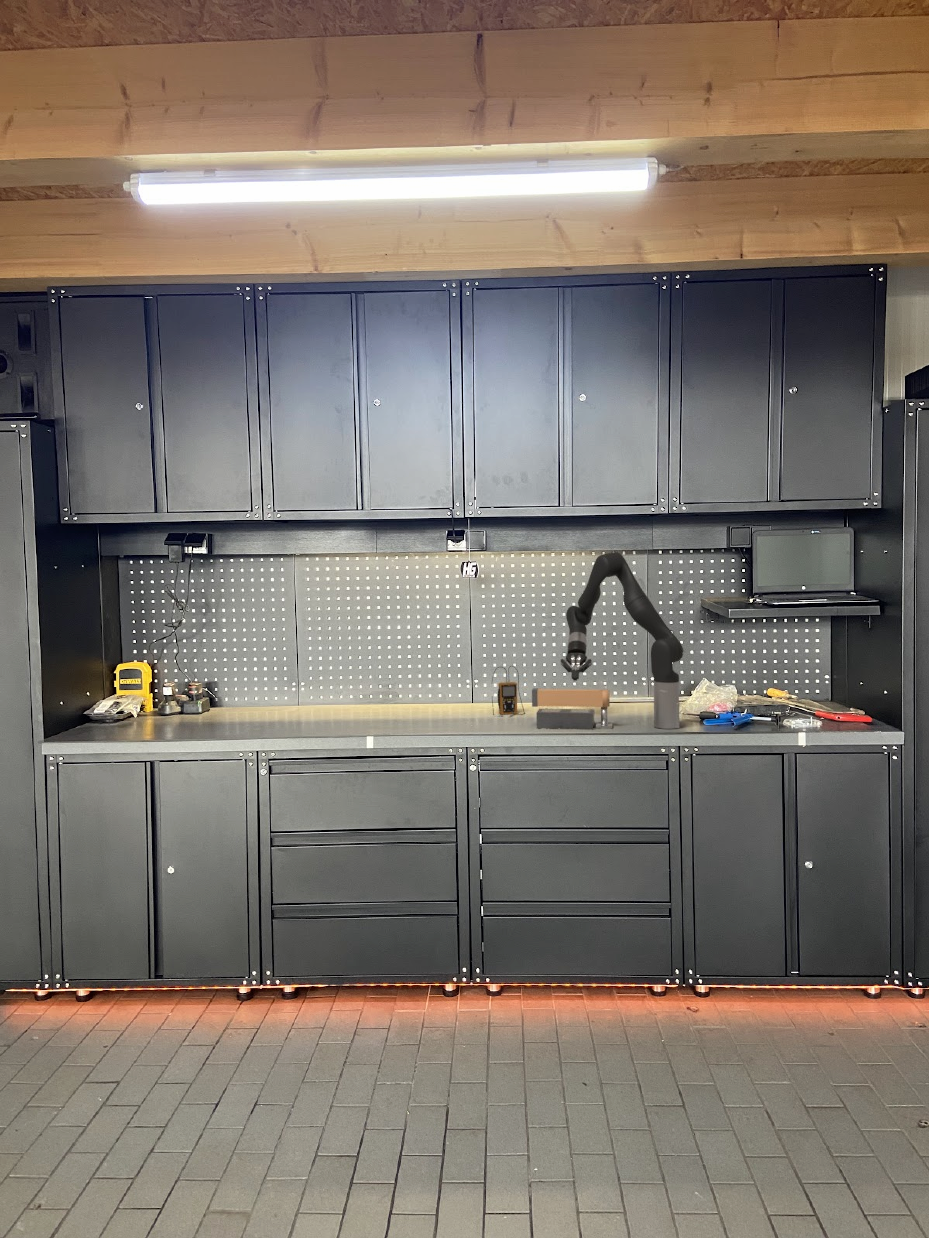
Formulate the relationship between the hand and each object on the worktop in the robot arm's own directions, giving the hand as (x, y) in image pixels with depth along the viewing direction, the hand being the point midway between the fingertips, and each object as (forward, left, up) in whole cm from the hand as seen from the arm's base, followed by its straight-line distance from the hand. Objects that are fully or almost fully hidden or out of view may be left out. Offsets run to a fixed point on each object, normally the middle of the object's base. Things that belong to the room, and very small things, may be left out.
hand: (575, 679), depth 361 cm
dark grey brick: (+3, +14, -16) cm, 22 cm away
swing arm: (+1, +14, -9) cm, 17 cm away
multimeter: (+27, -11, -17) cm, 34 cm away
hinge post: (-12, +14, -16) cm, 25 cm away
